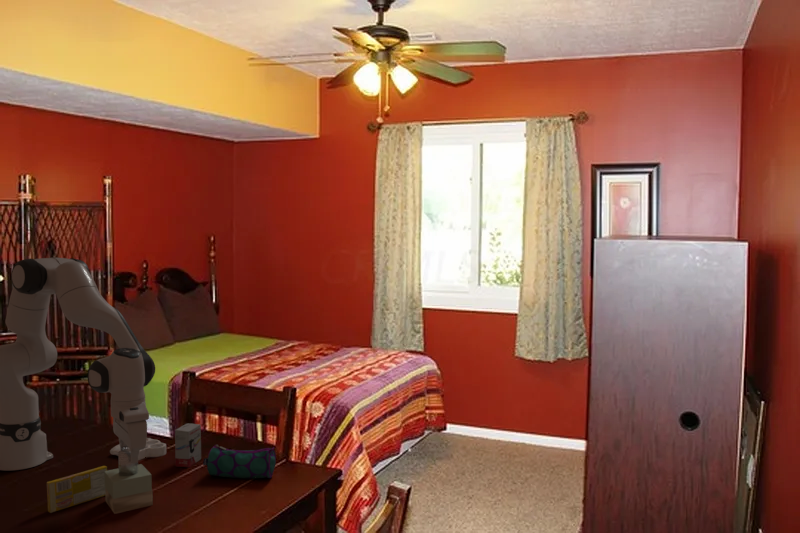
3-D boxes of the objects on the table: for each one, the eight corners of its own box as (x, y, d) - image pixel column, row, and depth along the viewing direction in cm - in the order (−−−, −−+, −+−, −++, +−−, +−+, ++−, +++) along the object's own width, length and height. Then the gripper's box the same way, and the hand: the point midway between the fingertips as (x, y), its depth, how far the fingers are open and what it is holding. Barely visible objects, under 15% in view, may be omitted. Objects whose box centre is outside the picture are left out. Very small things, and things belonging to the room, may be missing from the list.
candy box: (105, 493, 198) (104, 464, 197) (108, 495, 196) (108, 466, 196) (46, 511, 185) (46, 481, 184) (50, 513, 184) (49, 483, 183)
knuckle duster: (103, 455, 230) (138, 443, 243) (141, 464, 221) (176, 451, 234) (103, 445, 229) (138, 433, 242) (141, 454, 221) (176, 441, 234)
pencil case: (202, 480, 208) (202, 449, 207) (213, 469, 217) (213, 439, 216) (270, 483, 206) (270, 452, 205) (278, 473, 214) (278, 442, 214)
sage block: (104, 486, 191) (104, 471, 191) (141, 479, 197) (141, 464, 197) (113, 498, 183) (113, 482, 183) (151, 490, 189) (151, 474, 189)
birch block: (105, 502, 192) (105, 486, 191) (142, 494, 197) (142, 479, 197) (114, 515, 184) (114, 498, 183) (152, 506, 189) (152, 490, 189)
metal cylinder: (116, 472, 190) (116, 450, 190) (135, 468, 193) (134, 447, 193) (121, 477, 186) (121, 455, 186) (140, 473, 189) (140, 452, 189)
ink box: (188, 468, 218) (188, 431, 217) (174, 466, 219) (174, 430, 218) (201, 458, 226) (201, 423, 225) (188, 457, 227) (187, 422, 226)
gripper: (106, 401, 195) (107, 449, 196) (126, 418, 179) (127, 470, 180) (129, 398, 199) (130, 445, 200) (151, 414, 182) (151, 465, 183)
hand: (129, 457), depth 190 cm, fingers open, 8 cm apart
